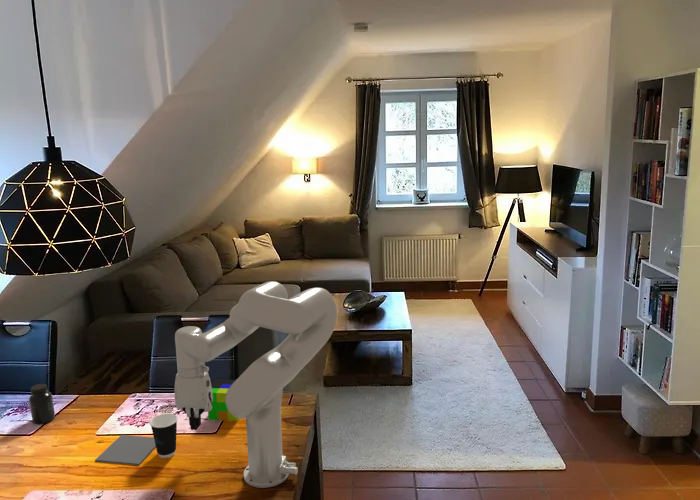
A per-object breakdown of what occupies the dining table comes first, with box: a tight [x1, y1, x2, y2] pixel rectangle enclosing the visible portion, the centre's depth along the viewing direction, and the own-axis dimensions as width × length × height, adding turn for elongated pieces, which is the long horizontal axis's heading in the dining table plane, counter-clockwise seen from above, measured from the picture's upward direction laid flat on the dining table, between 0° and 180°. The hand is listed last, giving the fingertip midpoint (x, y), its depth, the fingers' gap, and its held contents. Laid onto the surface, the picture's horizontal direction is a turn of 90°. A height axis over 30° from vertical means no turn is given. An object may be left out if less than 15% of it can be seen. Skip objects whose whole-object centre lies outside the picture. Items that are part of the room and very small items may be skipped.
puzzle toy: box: [207, 378, 240, 422], centre depth 197 cm, size 10×10×10 cm
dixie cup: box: [149, 413, 178, 459], centre depth 173 cm, size 8×8×11 cm
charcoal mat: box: [95, 434, 156, 466], centre depth 176 cm, size 14×14×1 cm
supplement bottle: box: [28, 383, 56, 425], centre depth 194 cm, size 7×7×12 cm
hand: (195, 427), depth 170 cm, fingers closed
